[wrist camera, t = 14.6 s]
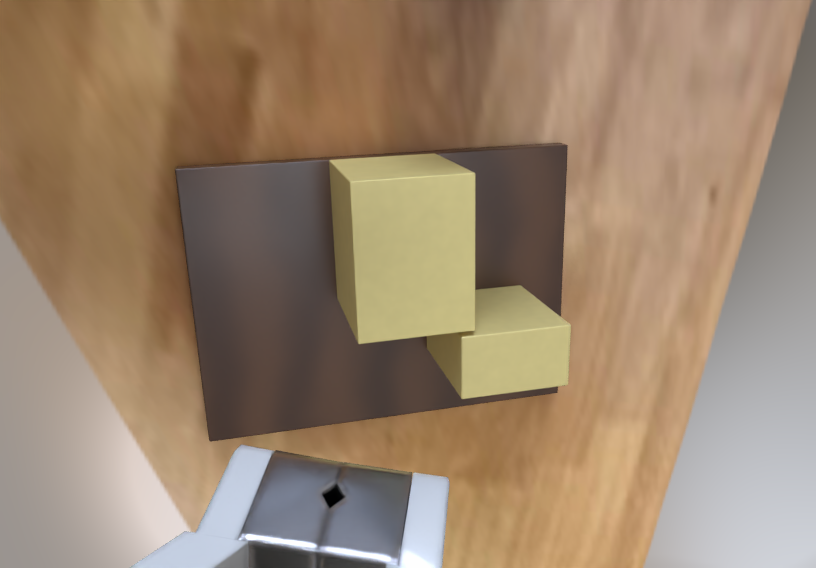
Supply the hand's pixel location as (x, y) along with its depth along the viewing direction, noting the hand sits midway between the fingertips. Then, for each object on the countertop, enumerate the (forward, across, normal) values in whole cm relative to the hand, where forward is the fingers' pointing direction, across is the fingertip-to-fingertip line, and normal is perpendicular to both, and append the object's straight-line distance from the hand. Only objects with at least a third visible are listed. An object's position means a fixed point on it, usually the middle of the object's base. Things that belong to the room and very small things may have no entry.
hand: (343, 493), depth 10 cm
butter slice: (+31, -3, +16) cm, 34 cm away
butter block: (+30, +3, +10) cm, 32 cm away
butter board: (+30, +2, +14) cm, 33 cm away
